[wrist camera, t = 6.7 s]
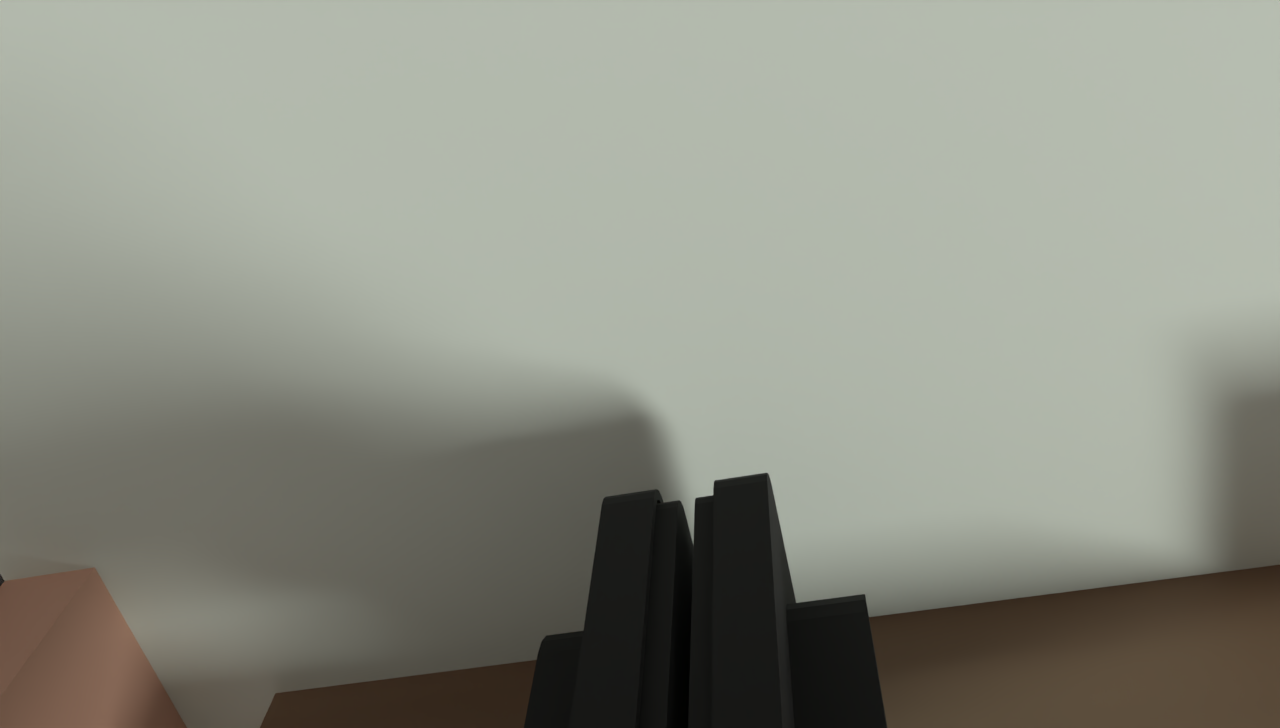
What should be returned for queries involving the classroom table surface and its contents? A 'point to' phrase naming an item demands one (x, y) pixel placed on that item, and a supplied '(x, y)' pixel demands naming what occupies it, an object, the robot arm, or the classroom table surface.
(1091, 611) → the t block
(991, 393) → the mat
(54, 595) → the pocket
